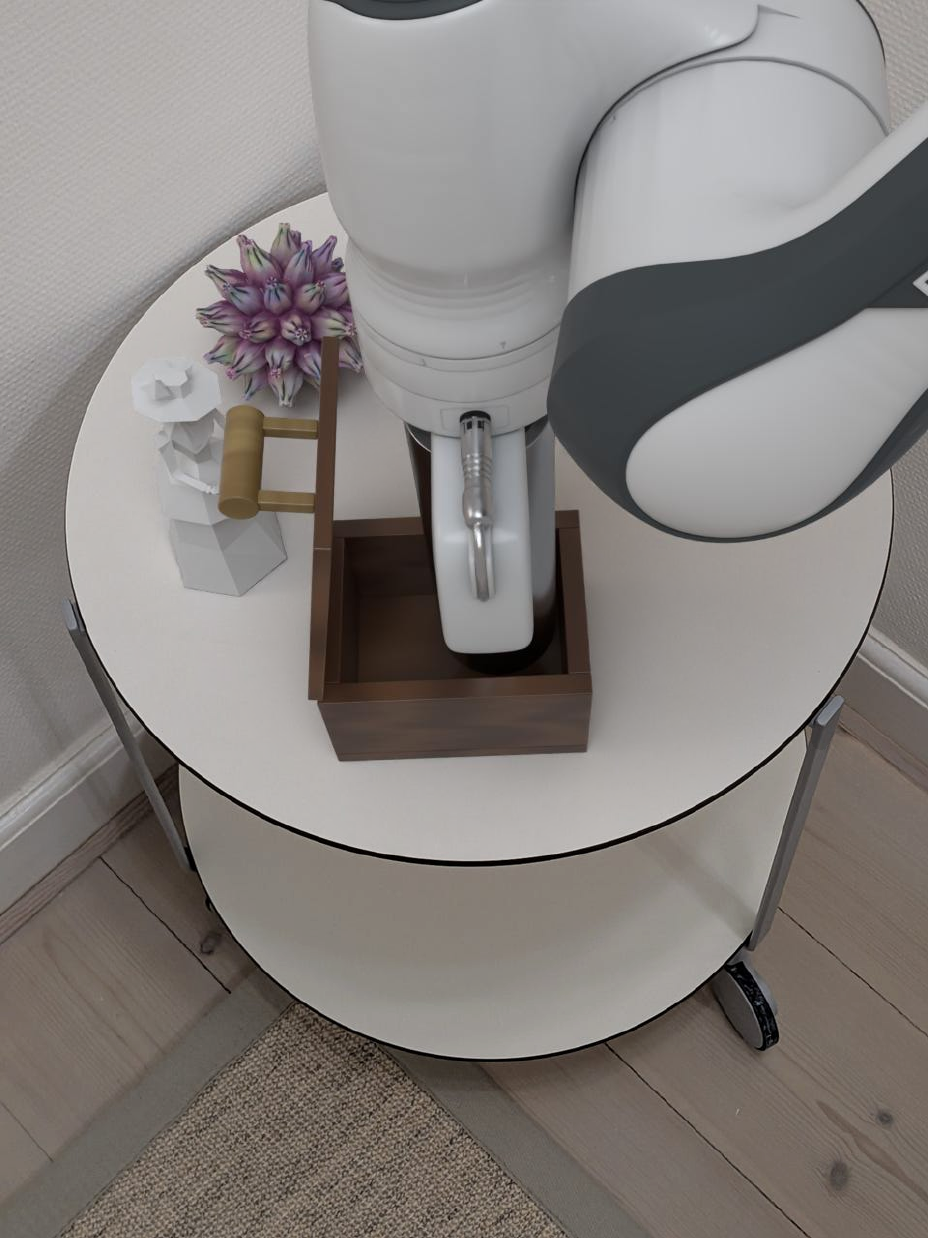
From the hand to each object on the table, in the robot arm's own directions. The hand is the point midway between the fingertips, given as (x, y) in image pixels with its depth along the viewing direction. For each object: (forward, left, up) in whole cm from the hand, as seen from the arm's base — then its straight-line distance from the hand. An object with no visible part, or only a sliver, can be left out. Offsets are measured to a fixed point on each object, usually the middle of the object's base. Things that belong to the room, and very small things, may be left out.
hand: (488, 516), depth 60 cm
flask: (0, 0, -11) cm, 11 cm away
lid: (+6, +5, -1) cm, 8 cm away
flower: (+25, -9, -17) cm, 31 cm away
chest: (+2, +2, -17) cm, 17 cm away
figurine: (+19, +4, -17) cm, 26 cm away
